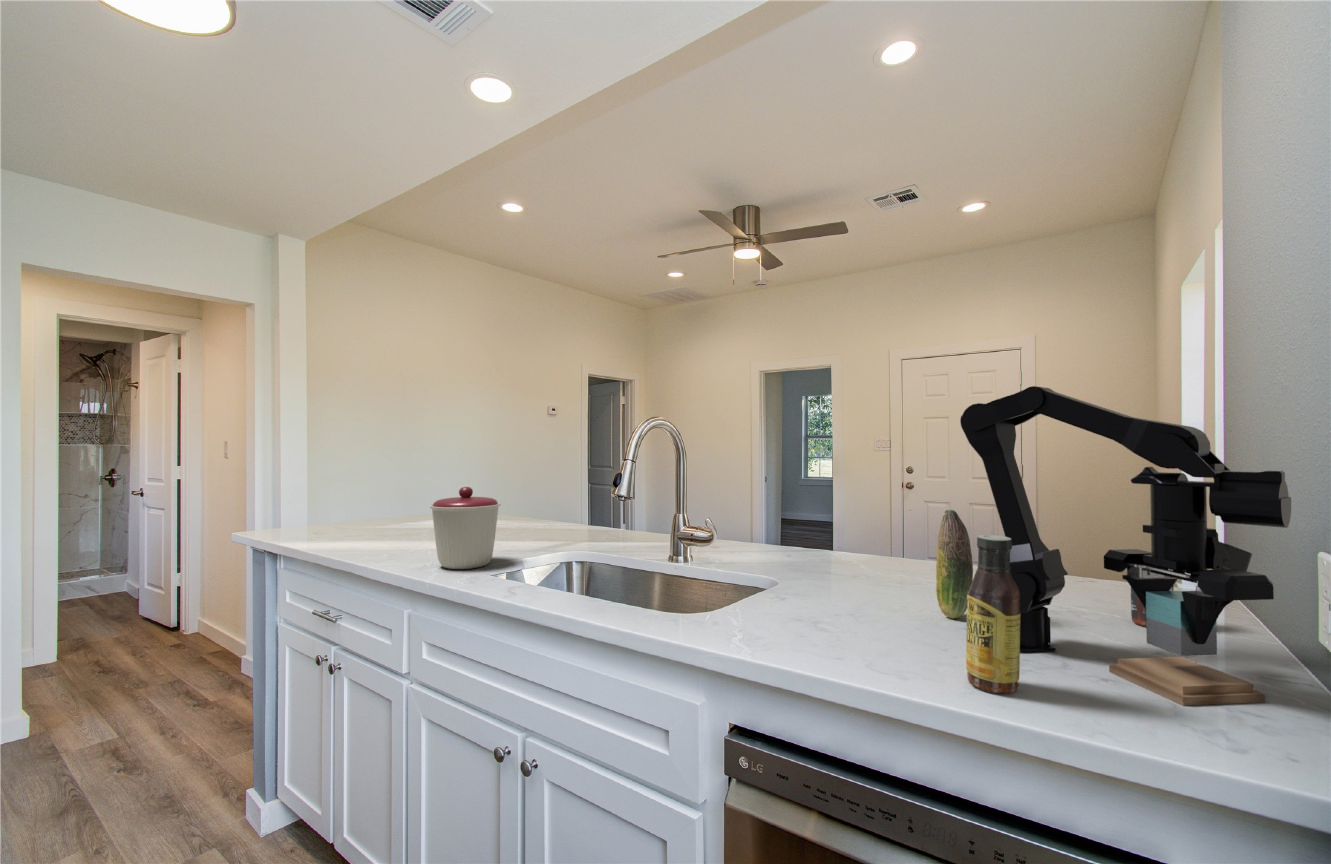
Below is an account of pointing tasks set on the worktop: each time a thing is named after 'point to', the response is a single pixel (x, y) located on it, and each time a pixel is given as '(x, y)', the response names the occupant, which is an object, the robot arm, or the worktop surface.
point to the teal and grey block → (1174, 625)
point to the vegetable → (953, 565)
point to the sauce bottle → (993, 619)
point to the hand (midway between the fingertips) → (1180, 637)
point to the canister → (465, 530)
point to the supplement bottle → (1138, 609)
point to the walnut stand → (1186, 681)
